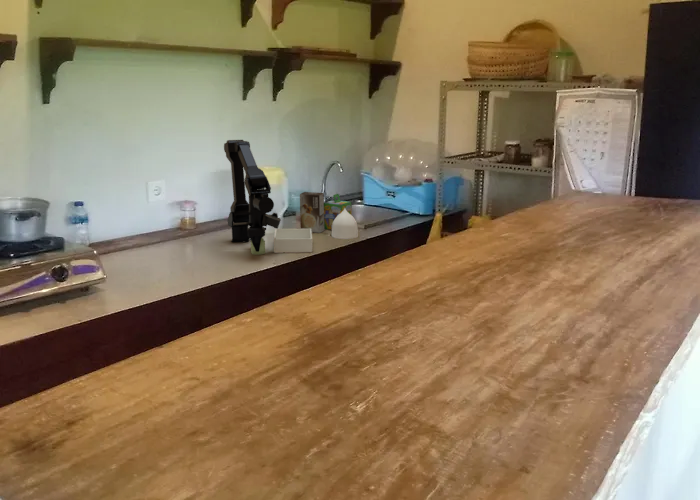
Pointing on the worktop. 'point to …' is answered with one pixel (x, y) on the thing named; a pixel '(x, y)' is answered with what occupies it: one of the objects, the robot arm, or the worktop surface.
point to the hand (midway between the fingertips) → (258, 249)
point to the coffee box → (312, 211)
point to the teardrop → (344, 226)
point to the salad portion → (261, 250)
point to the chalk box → (334, 210)
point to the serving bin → (292, 240)
